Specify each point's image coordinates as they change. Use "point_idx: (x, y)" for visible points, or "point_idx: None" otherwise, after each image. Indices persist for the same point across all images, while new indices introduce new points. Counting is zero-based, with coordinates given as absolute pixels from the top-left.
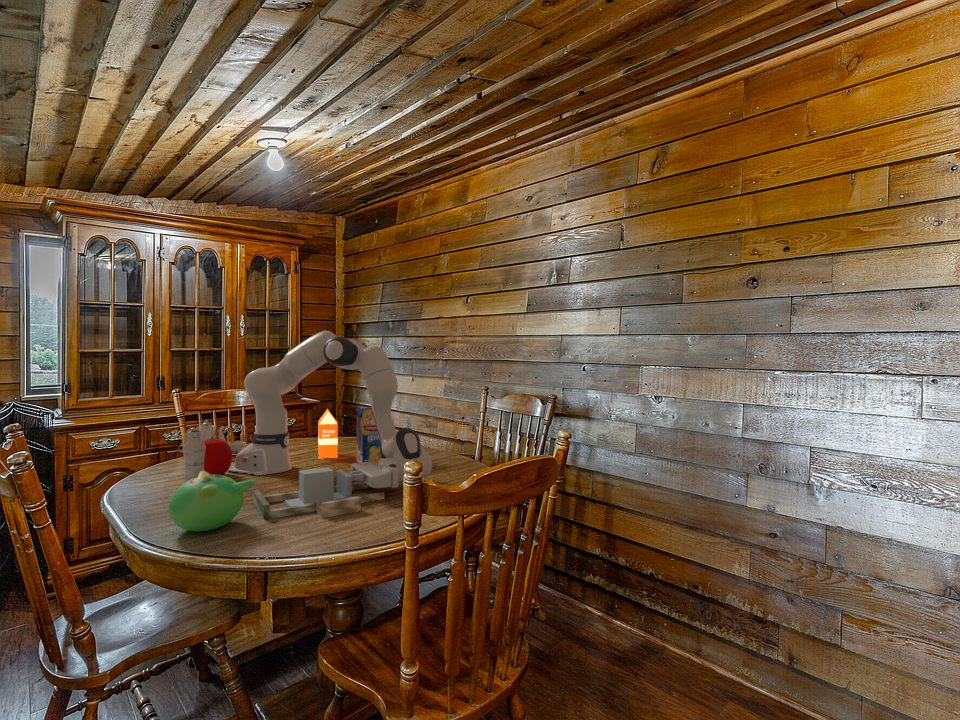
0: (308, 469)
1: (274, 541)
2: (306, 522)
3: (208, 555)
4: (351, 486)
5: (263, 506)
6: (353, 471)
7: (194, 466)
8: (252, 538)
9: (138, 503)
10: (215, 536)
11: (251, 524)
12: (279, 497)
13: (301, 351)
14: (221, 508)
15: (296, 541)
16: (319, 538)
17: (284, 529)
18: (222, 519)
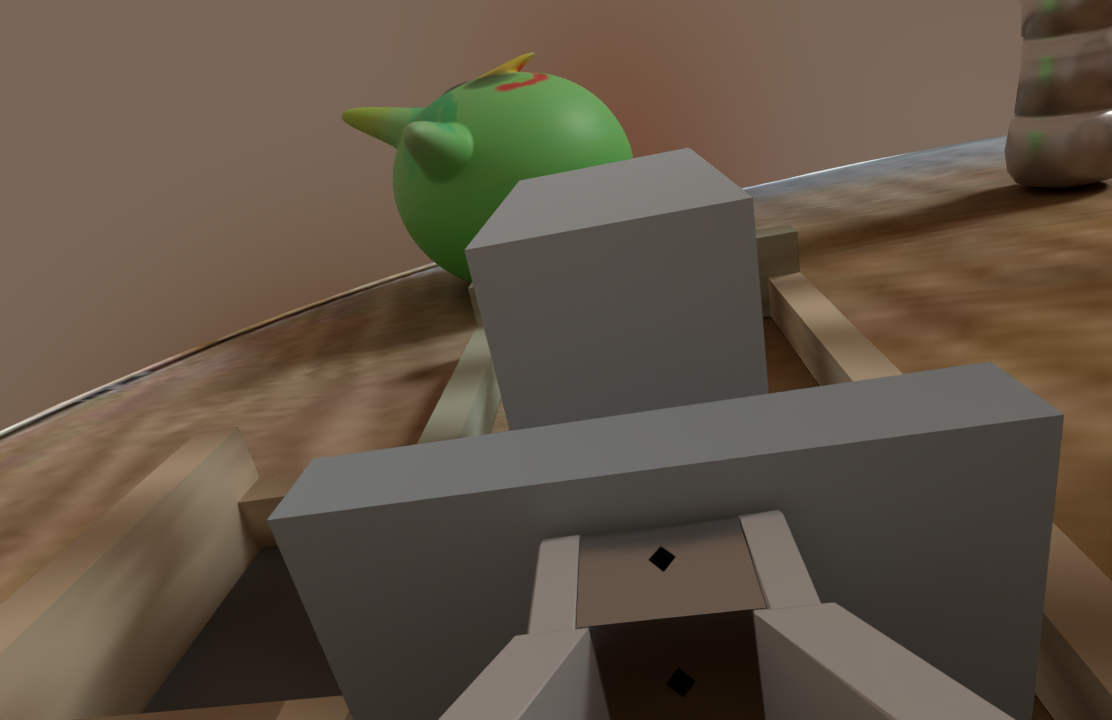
0: (698, 158)
1: (209, 390)
2: (275, 463)
3: (301, 312)
4: (340, 688)
5: None
6: (951, 707)
7: (1027, 41)
8: (314, 350)
9: (915, 166)
10: (434, 298)
11: (467, 333)
12: (801, 336)
13: None
14: (397, 206)
15: (114, 435)
16: (15, 496)
17: (290, 404)
18: (423, 251)
